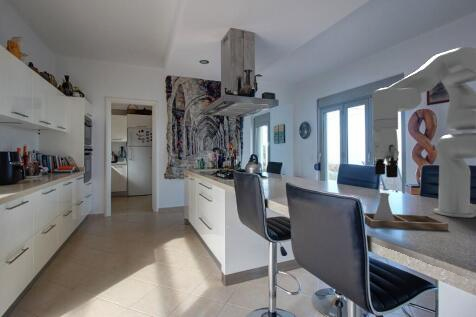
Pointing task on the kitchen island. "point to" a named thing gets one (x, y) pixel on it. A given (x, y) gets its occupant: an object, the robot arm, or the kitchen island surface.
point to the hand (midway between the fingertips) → (385, 175)
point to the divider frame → (407, 222)
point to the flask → (384, 209)
